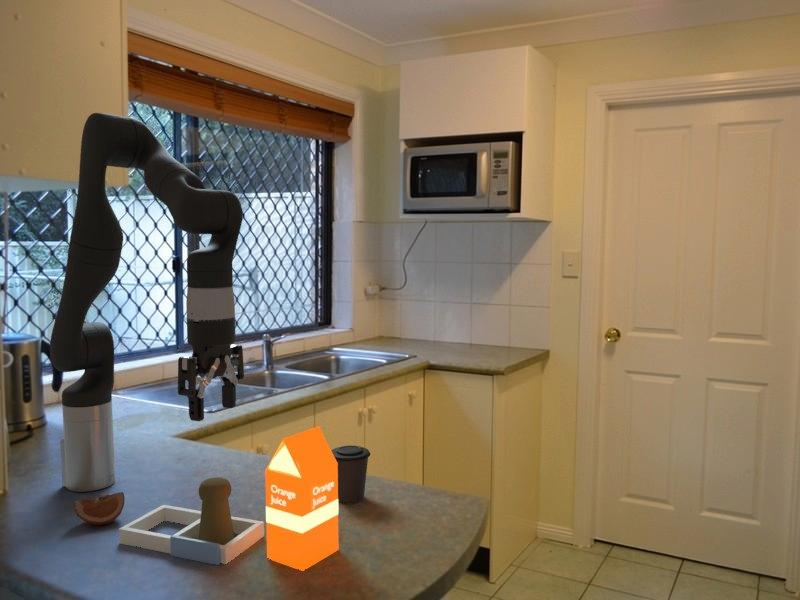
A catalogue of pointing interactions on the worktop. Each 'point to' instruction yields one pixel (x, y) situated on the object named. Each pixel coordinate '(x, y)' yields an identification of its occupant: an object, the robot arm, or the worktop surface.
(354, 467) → the coffee cup
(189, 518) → the white flat rectangular frame
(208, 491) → the olive rounded piece
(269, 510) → the orange juice
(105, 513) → the fruit slice
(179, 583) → the worktop surface
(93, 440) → the robot arm
